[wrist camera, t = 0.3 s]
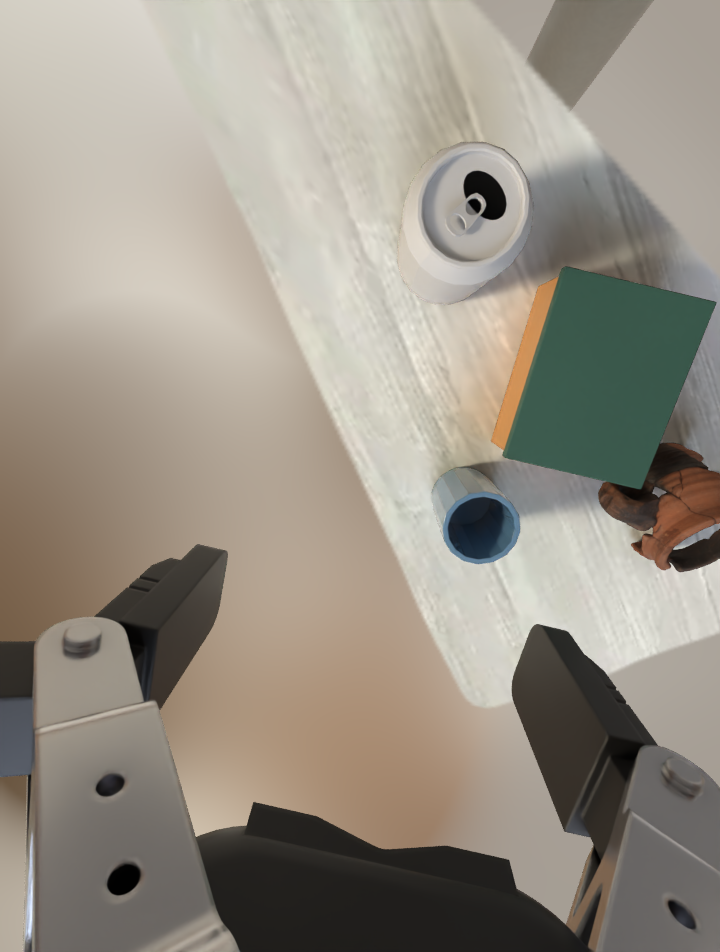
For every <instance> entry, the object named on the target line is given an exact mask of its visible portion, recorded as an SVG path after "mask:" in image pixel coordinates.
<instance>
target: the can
mask: <svg viewBox="0 0 720 952" xmlns="http://www.w3.org/2000/svg"><path fill="white" fill-rule="evenodd" d="M533 206H534V203H533V198H532V193H531V188H530V183H529V181H528V179H527V177H526V175H525V174H524V172H523V170H522V168H521V167H520V165H519V163H518V161H517V160H516V159H514V158H513V157H512V156H511V155H510V154H509V153H508V152H506V151H505V150H504V149H502V148H500V147H497V146H494V145H492V144H489V143H486V142H461V143H458V144H455V145H453V146H450V147H447V148H445V149H442V150H440V151H439V152H438V153H437V154H435V155H434V156H433V157H432V158H430V159H429V160H428V161H427V162H425V163H424V164H423V166H422V167H421V169H420V170H419V172H418V173H417V174H416V176H415V177H414V179H413V180H412V182H411V184H410V187H409V190H408V193H407V196H406V199H405V202H404V207H403V213H402V220H401V227H400V234H399V241H398V256H397V263H398V266H399V270H400V274H401V277H402V279H403V280H404V282H405V284H406V285H407V287H408V288H409V290H410V291H411V292H413V293H414V294H415V295H416V296H418V297H419V298H420V299H421V300H424V301H427V302H430V303H433V304H452V303H455V302H458V301H461V300H464V299H466V298H467V297H468V296H470V295H471V294H473V293H474V292H475V291H477V290H478V289H479V288H481V287H482V286H483V285H485V284H486V283H487V282H489V281H490V280H491V279H493V278H494V277H495V276H497V275H498V274H499V273H501V272H502V271H503V270H505V269H506V268H507V267H509V266H510V265H511V263H512V262H513V261H514V260H515V258H516V257H517V256H518V254H519V253H520V252H521V250H522V249H523V247H524V245H525V242H526V240H527V237H528V235H529V232H530V230H531V227H532V217H533Z"/></svg>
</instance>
